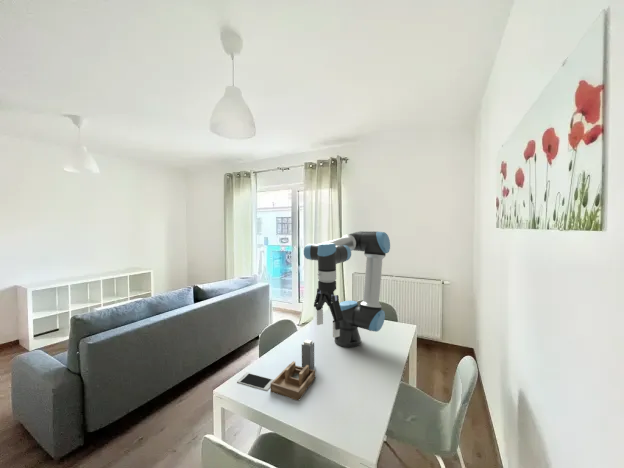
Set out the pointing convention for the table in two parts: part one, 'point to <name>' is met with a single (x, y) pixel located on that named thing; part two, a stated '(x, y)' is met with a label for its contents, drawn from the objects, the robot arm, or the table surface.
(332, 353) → the table surface
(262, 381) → the smartphone
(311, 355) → the grey rectangular block
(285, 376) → the box
